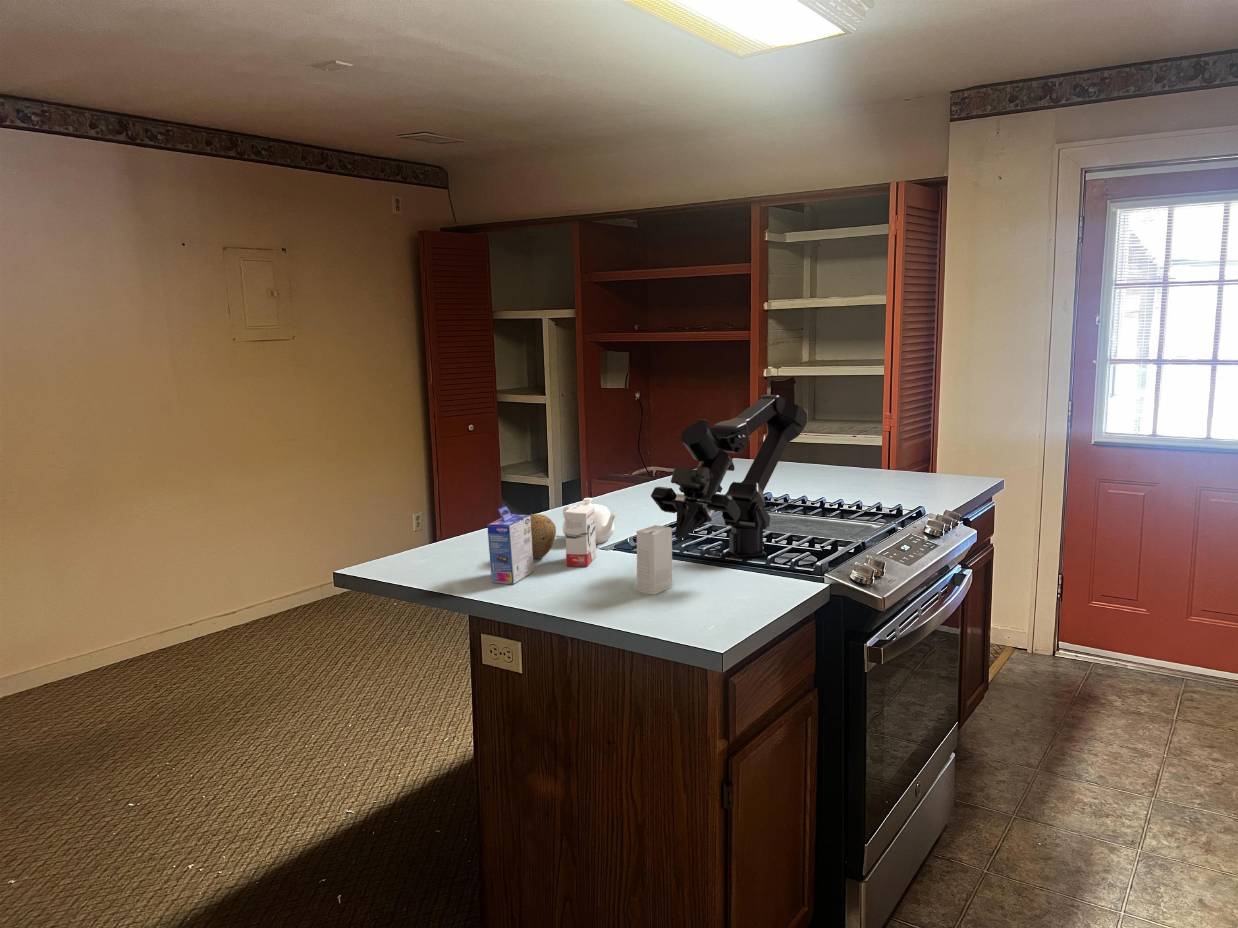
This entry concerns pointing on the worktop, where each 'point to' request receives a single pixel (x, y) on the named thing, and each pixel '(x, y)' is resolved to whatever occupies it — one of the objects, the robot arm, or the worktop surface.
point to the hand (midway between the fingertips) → (677, 538)
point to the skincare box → (654, 559)
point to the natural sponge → (542, 534)
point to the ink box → (580, 535)
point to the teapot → (599, 521)
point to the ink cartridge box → (510, 547)
